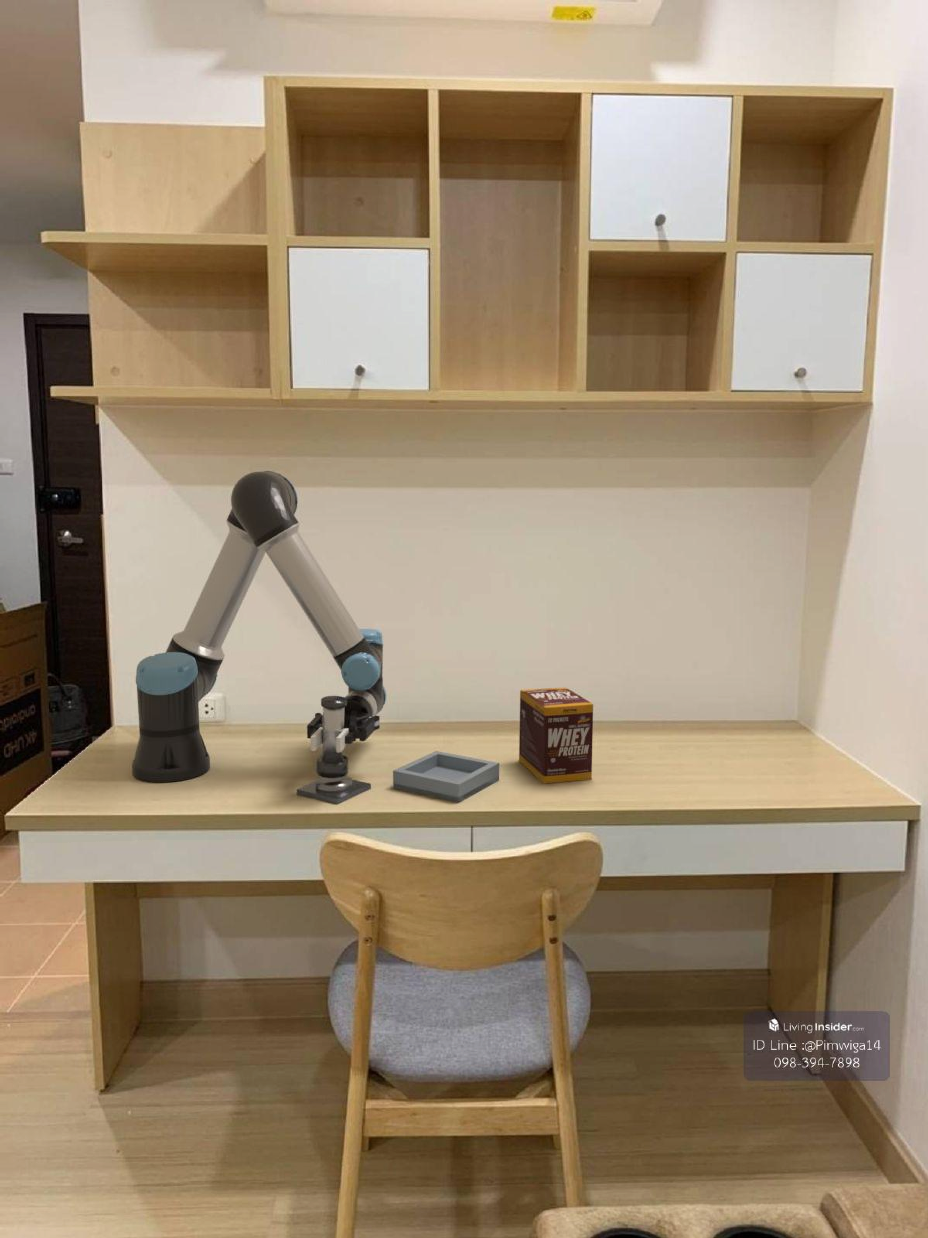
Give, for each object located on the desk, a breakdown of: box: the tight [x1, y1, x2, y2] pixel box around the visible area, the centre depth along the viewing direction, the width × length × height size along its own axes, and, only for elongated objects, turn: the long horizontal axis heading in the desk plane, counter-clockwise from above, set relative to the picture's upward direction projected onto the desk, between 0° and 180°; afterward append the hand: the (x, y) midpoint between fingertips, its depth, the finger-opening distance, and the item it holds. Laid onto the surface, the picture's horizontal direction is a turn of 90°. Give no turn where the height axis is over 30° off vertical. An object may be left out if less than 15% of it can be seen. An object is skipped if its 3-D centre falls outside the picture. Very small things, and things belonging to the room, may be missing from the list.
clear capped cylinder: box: [315, 695, 349, 778], centre depth 175 cm, size 6×6×14 cm
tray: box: [392, 750, 500, 803], centre depth 181 cm, size 15×15×4 cm
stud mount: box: [296, 775, 372, 805], centre depth 177 cm, size 10×10×2 cm
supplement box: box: [518, 687, 594, 784], centre depth 189 cm, size 10×15×16 cm
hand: (325, 744), depth 170 cm, fingers closed on clear capped cylinder, 4 cm apart
